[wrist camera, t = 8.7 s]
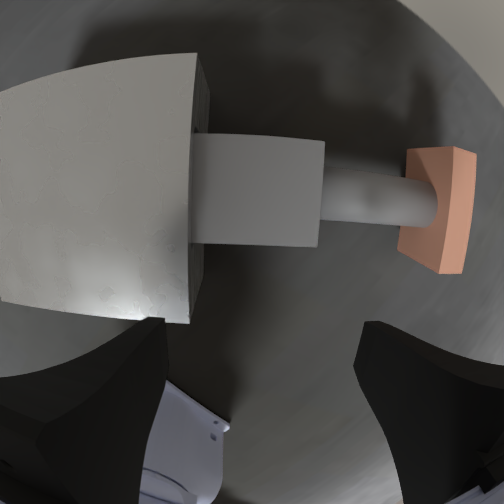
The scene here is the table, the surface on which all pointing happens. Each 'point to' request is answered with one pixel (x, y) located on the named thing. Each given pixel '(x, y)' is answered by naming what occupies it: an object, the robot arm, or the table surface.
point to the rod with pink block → (329, 196)
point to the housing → (103, 188)
